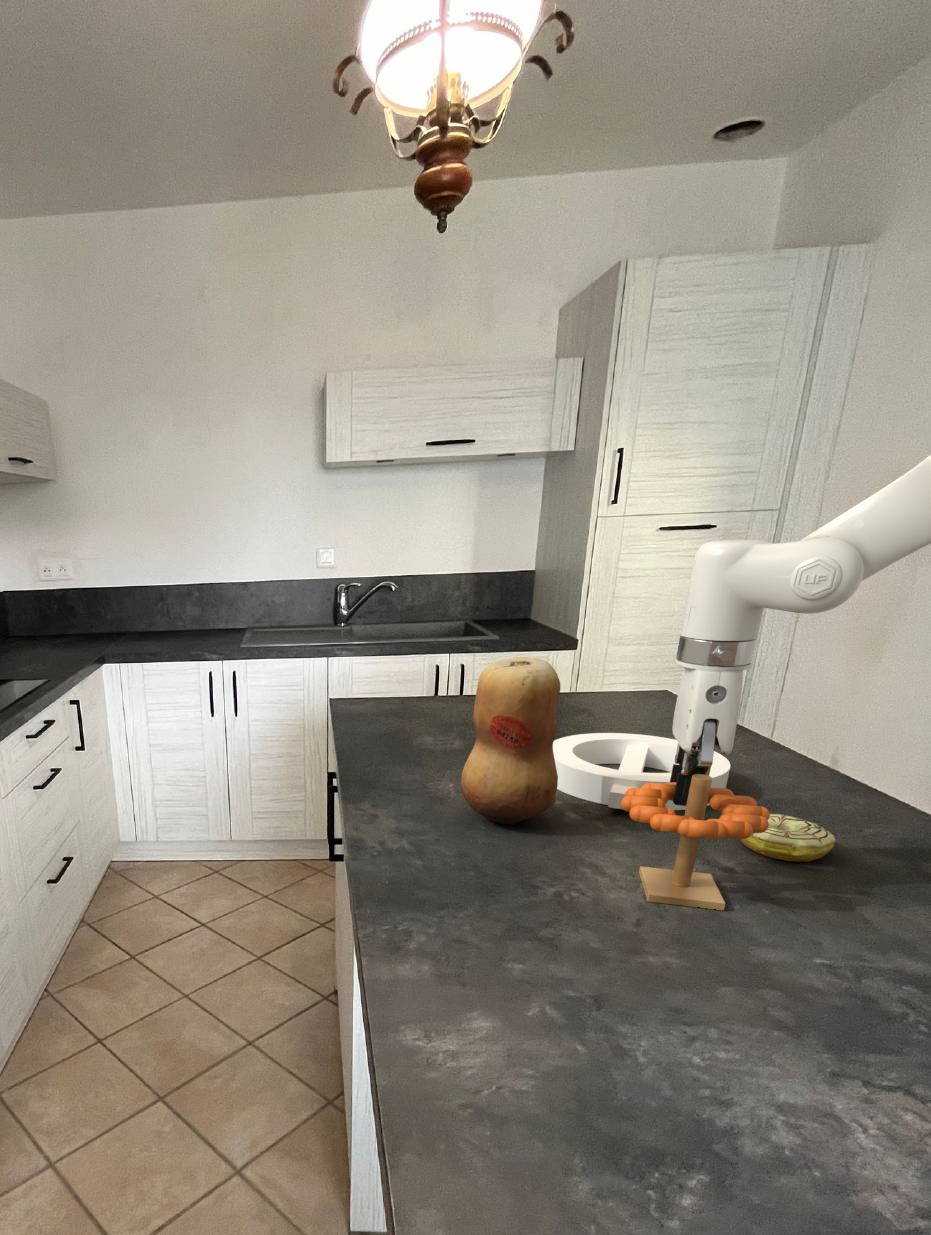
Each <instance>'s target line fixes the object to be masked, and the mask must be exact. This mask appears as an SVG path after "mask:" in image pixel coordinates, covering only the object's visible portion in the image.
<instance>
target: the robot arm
mask: <svg viewBox="0 0 931 1235" xmlns="http://www.w3.org/2000/svg"><path fill="white" fill-rule="evenodd" d="M930 544H931V454H929V455H928V456H927V457H925V458H924V459H923V460H922V461H921V462H919V463H918V464H917V465H915V466H914V467H913V468H911V469H910V470H908V471H907V472H905V473H904V474H902V475H901V476H899V477H898V478H896V479H895V480H894V481H892V482H890V483H889V484H886V486H884V487H882V488H881V489H879V490H878V491H877V492H875V493H873V494H872V495H870V496H869V497H867V498H865V499H864V500H862V501H861V502H859V503H858V504H855V505H854V506H852V507H851V508H849V509H847V511H845V512H843V513H842V514H840V515H838V516H836V517H835V518H834V519H832V520H831V521H829V522H827V523H825V524H824V525H822V526H821V527H819V528H817V529H816V530H815V531H813V532H811V533H810V534H808V535H807V536H805V537H803V538H801V539H799V540H798V541H797V540H796V541H788V542H778V543H772V542H770V541H767V540H761V539H722V540H721V539H720V540H719V539H718V540H712V541H711V540H710V541H708V542H705V543H703V544H702V545H700V547H699V548H698V549H697V551H696V552H695V555H694V559H693V564H692V570H691V575H690V580H689V587H688V592H687V596H686V601H685V608H684V615H683V619H682V624H681V629H680V636H679V640H678V646H677V652H676V658H675V661H674V663H675V665H676V666H678V667H682V668H683V670H682V673H681V679H680V682H679V688H678V691H677V696H676V697H677V698H676V703H675V708H674V713H673V718H672V730H671V731H672V735H673V737H674V739H675V740H677V742H678V746H677V750H676V755H675V764H673V768H672V773H671V772H670V773H671V779H670V783H671V782H676V786H675V792H674V797H673V803H674V804H675V805H682V806H686V805H687V799H688V794H689V789H690V784H691V779H692V775H695V774H703V775H708V776H709V774H710V769H711V766H712V763H713V754H714V751H715V749H716V748H717V750H718V751H719V752H720V754H721V755H722V756H729V755H730V754H731V753H732V752H733V749H734V748H733V747H734V741H735V736H736V731H737V725H738V719H739V714H740V713H739V712H740V706H741V700H742V691H743V679H744V671H747V670H750V669H751V668H752V663H753V659H754V655H755V650H756V645H757V640H758V636H759V631H760V628H761V622H762V618H763V614H764V609H770V610H774V611H775V610H776V611H783V612H787V613H788V612H789V613H794V614H805V615H806V614H808V615H809V614H810V615H811V614H820V613H824V612H828V611H830V610H833V609H835V608H838V607H839V606H841V605H843V604H844V603H846V602H847V601H848V600H849V599H851V597H853V595H854V594H855V593H856V592H857V590H858V589H859V587H860V585H861V584H862V582H863V581H865V580H866V579H869V578H870V577H872V576H874V575H875V574H877V573H878V572H880V571H883V570H884V569H886V568H888V567H889V566H891V565H893V564H894V563H896V562H898V561H900V560H902V559H904V558H905V557H907V556H909V555H911V554H913V553H915V552H917V551H919V550H921V549H922V548H925V547H926V546H928V545H930ZM677 764H679V765H677Z"/></svg>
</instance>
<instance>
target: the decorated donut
mask: <svg viewBox="0 0 931 1235" xmlns="http://www.w3.org/2000/svg"><path fill="white" fill-rule="evenodd" d="M768 822H769V827H768V829H767V830H766V831H765V832H762V833H752V835H751V836H750V837H748V838H746V839H740V842H741V843H742V844H743V845H744V846H745V847H747V848H748V849H749V850H752V851H753V852H754V853H756V854H759V855H761V856H764V857H767V858H770V859H776V860H782V861H786V862H795V863H803V862H804V863H810V862H812V861H816V860H818V859H821V858H823V857H825V856H826V855H827V854H829V852H830V851H831V850H832V849H834V846H835V842H836V837H835V835H834V834H833V833H831V832H830V831H829V830H827V829H825V828H824V827H822V826H820V825H819V824H817V823H814V822H812V821H811V820H808V819H803V818H798V817H794V816H790V815H785V814H779V813H770V817H769V819H768Z"/></svg>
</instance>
